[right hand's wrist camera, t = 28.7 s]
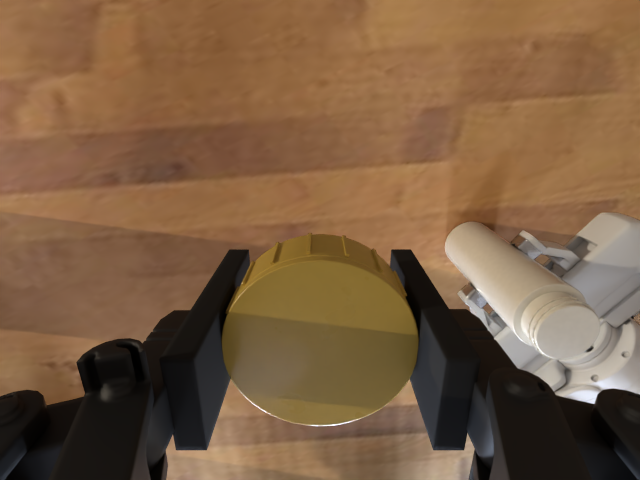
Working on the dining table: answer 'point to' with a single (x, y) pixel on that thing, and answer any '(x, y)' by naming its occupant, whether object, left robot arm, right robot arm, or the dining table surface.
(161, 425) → the right robot arm
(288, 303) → the lid
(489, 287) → the jar
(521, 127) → the dining table surface
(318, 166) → the dining table surface
